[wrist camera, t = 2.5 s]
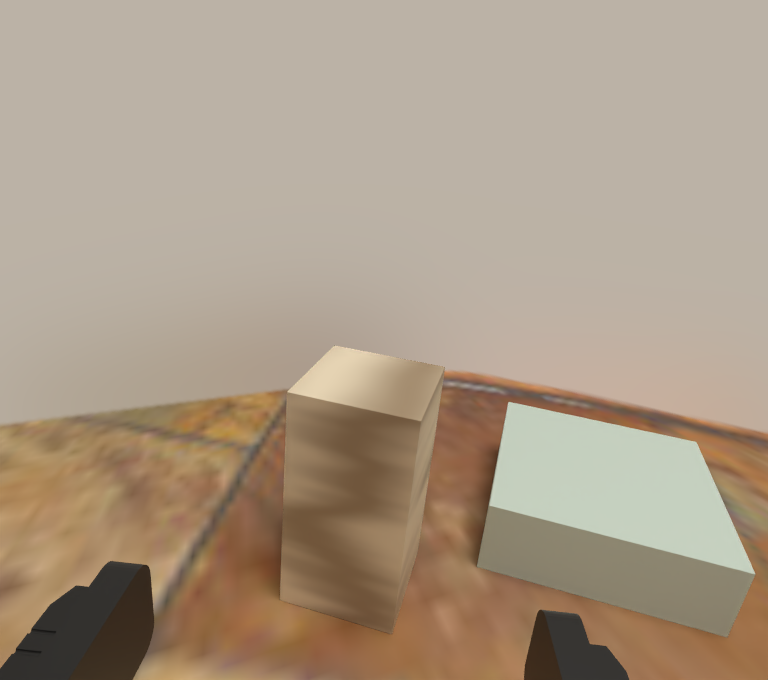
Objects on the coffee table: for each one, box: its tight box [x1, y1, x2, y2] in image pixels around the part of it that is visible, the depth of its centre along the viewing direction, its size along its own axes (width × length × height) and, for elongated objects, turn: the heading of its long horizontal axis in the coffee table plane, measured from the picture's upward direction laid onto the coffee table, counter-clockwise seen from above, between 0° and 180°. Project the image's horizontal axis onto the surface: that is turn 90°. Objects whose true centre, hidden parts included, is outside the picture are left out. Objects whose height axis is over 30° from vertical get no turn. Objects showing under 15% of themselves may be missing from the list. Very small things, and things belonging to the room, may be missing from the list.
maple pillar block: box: [280, 346, 445, 634], centre depth 24 cm, size 5×5×10 cm
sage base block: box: [477, 402, 755, 637], centre depth 30 cm, size 11×11×4 cm
